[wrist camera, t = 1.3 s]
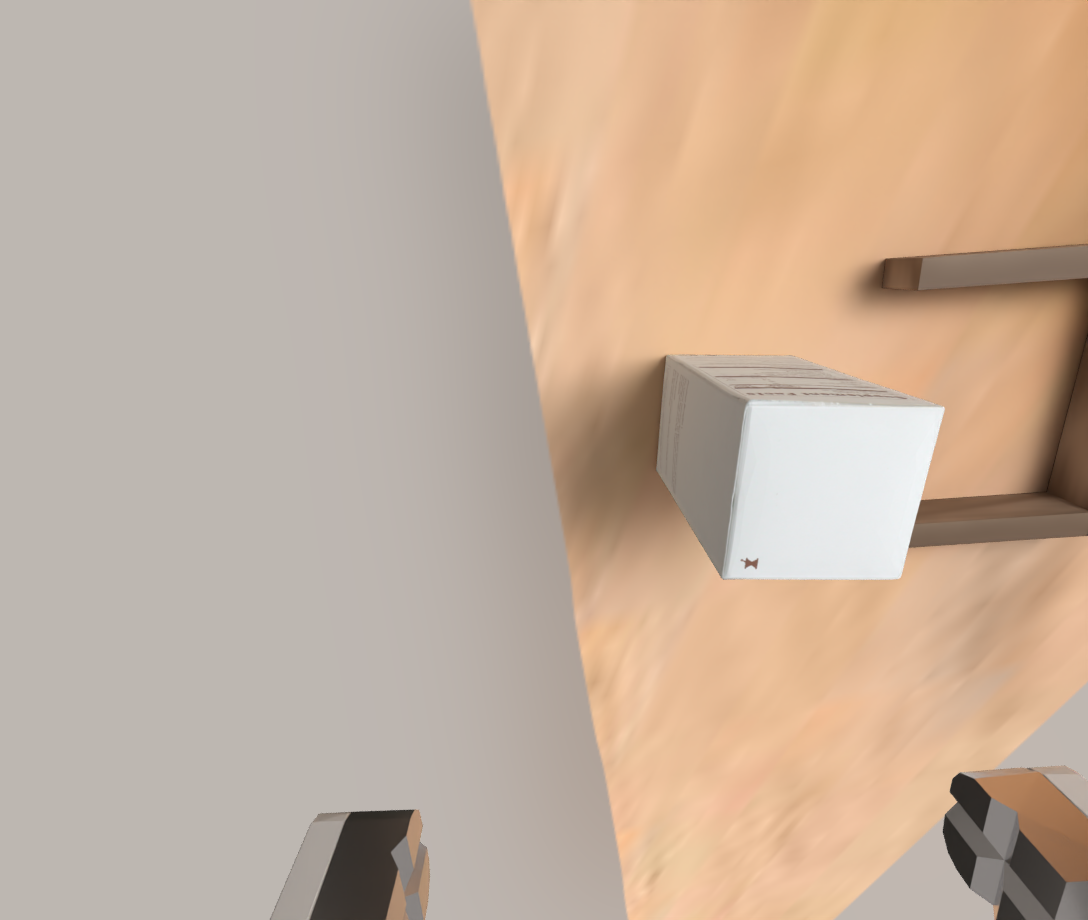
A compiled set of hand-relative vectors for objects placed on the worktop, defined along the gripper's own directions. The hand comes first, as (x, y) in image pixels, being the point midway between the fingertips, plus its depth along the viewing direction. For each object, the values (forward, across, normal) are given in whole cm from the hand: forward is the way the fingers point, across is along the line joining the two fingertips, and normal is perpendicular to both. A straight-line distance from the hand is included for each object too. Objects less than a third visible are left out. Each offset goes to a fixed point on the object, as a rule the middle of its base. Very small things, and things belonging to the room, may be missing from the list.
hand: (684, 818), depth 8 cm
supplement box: (+25, -9, 0) cm, 27 cm away
